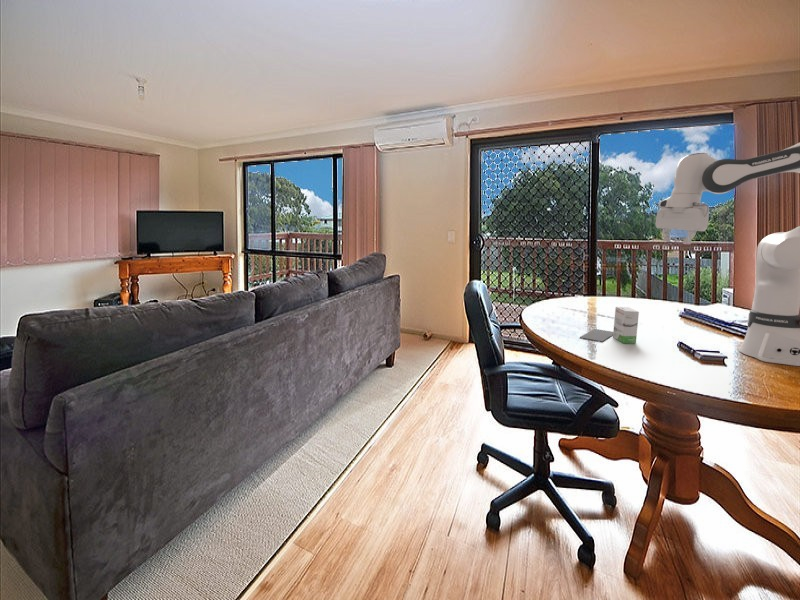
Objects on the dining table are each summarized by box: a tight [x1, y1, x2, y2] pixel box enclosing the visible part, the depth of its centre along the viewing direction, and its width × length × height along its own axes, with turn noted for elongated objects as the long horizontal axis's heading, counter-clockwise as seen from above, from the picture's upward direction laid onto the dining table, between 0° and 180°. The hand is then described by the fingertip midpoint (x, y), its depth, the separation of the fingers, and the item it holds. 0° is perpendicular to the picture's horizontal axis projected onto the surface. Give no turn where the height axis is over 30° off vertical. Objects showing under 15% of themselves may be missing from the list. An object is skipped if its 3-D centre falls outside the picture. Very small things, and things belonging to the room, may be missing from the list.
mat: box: [579, 328, 613, 343], centre depth 157 cm, size 8×16×1 cm, turn 137°
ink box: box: [612, 306, 640, 344], centre depth 149 cm, size 9×5×12 cm, turn 175°
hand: (676, 242), depth 145 cm, fingers open, 8 cm apart
